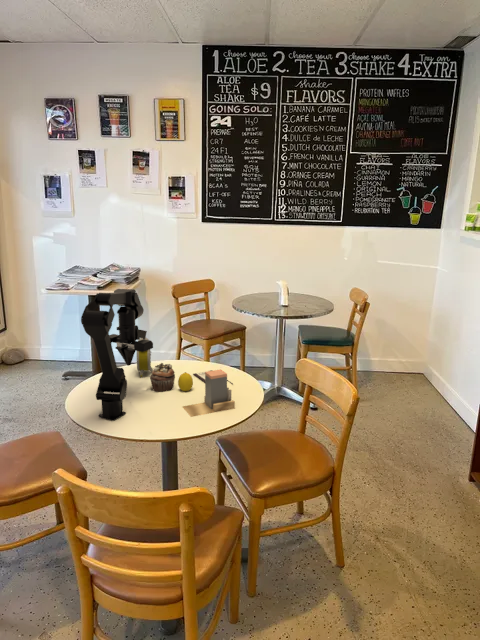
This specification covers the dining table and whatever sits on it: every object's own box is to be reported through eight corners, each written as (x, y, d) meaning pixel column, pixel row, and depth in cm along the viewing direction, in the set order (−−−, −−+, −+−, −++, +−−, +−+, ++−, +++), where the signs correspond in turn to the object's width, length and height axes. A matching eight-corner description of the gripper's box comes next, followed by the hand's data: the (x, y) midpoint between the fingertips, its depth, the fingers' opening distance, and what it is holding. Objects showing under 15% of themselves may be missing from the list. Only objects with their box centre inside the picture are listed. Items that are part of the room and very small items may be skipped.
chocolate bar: (213, 388, 181) (193, 373, 196) (213, 390, 181) (193, 375, 196) (233, 383, 186) (212, 370, 201) (233, 386, 186) (212, 372, 201)
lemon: (179, 395, 175) (179, 375, 173) (177, 390, 180) (177, 370, 178) (194, 394, 176) (194, 374, 174) (191, 388, 181) (191, 369, 179)
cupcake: (177, 384, 186) (177, 360, 183) (171, 393, 176) (171, 368, 174) (154, 383, 187) (153, 359, 184) (147, 392, 177) (146, 367, 175)
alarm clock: (138, 369, 202) (137, 335, 199) (154, 368, 203) (153, 335, 200) (137, 378, 191) (135, 343, 188) (154, 377, 192) (153, 342, 189)
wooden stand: (191, 419, 155) (190, 399, 154) (181, 409, 163) (181, 390, 161) (235, 410, 162) (235, 392, 161) (224, 401, 170) (224, 383, 168)
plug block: (211, 409, 161) (211, 376, 158) (205, 403, 165) (205, 371, 162) (226, 406, 164) (227, 373, 161) (220, 401, 168) (220, 369, 165)
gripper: (161, 322, 170) (162, 363, 174) (122, 316, 178) (123, 355, 182) (142, 329, 160) (143, 372, 164) (101, 322, 169) (103, 363, 172)
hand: (128, 365), depth 171 cm, fingers closed
